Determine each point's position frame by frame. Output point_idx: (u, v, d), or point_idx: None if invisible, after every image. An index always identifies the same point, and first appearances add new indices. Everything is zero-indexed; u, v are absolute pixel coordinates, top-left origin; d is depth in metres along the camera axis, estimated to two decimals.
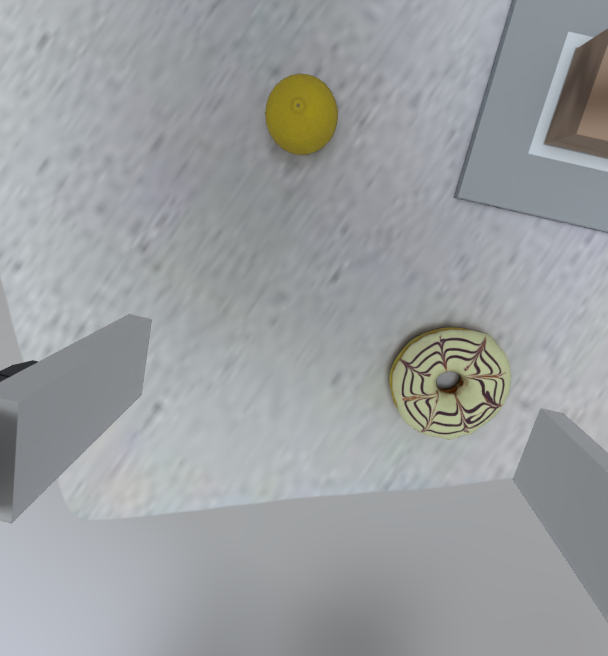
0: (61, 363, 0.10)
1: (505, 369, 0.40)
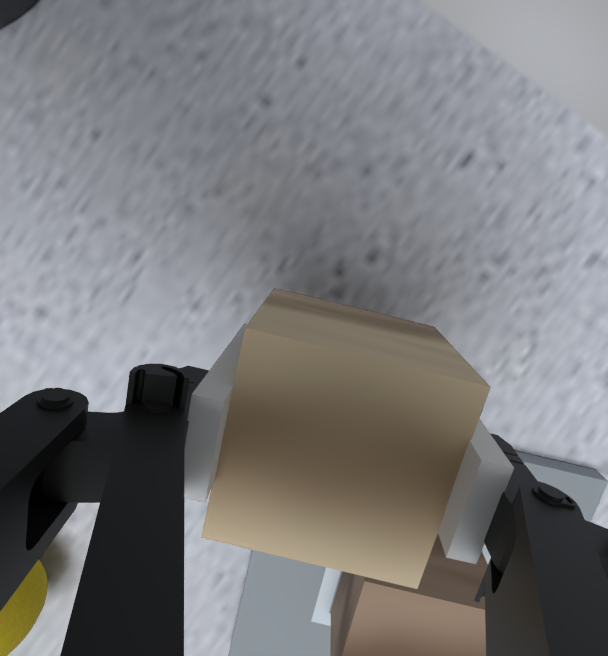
0: (228, 368, 0.12)
1: None
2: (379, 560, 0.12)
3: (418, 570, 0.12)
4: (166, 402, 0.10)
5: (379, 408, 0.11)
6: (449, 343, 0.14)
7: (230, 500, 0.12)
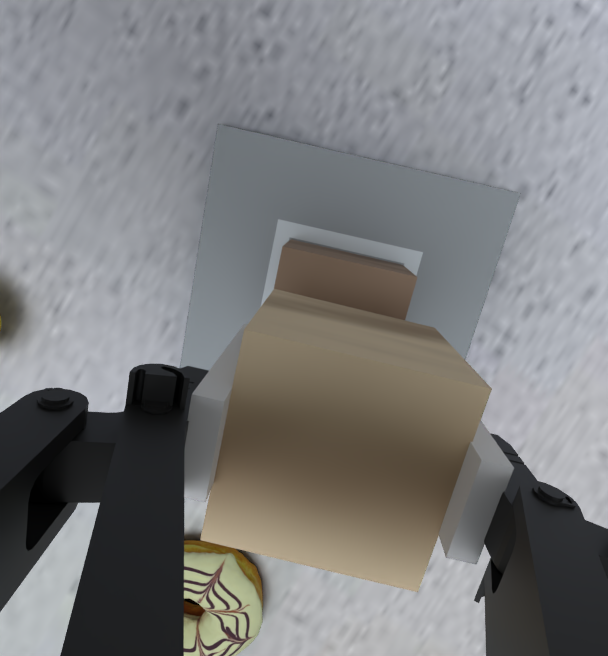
0: (228, 368, 0.12)
1: (248, 600, 0.33)
2: (379, 563, 0.12)
3: (419, 573, 0.12)
4: (166, 402, 0.10)
5: (380, 410, 0.11)
6: None
7: (229, 502, 0.12)
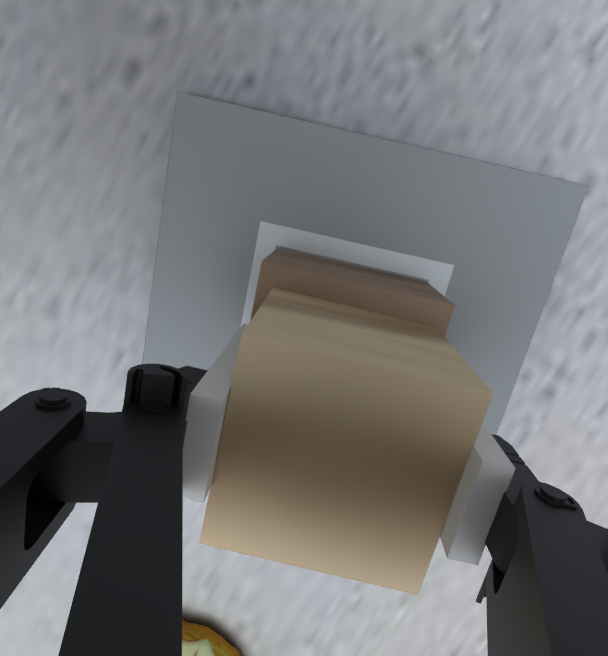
0: (227, 368, 0.12)
1: None
2: (379, 566, 0.12)
3: (419, 576, 0.12)
4: (164, 402, 0.10)
5: (379, 414, 0.11)
6: (451, 344, 0.14)
7: (229, 506, 0.12)
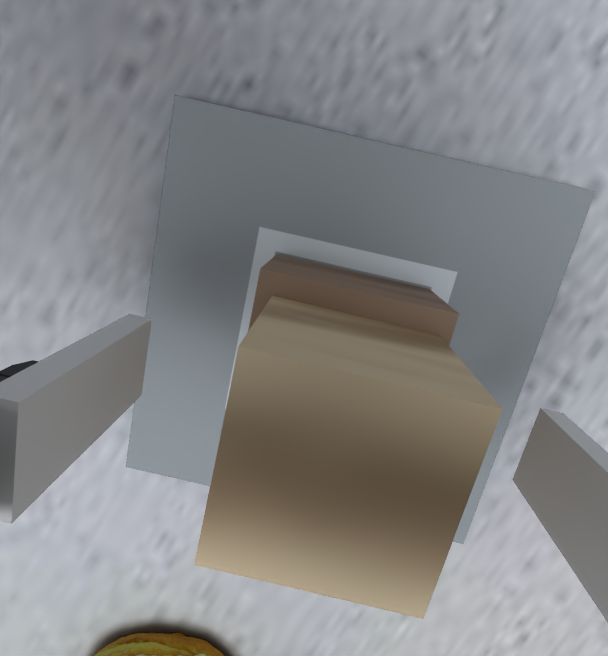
0: (61, 363, 0.10)
1: None
2: (383, 589, 0.12)
3: (424, 599, 0.12)
4: None
5: (383, 431, 0.10)
6: (456, 355, 0.14)
7: (225, 525, 0.11)
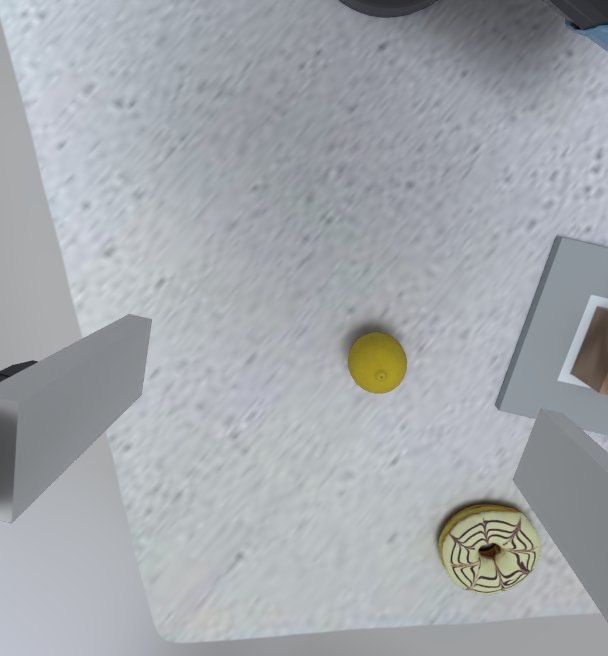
0: (61, 363, 0.10)
1: (536, 544, 0.49)
2: None
3: None
4: None
5: None
6: None
7: None
